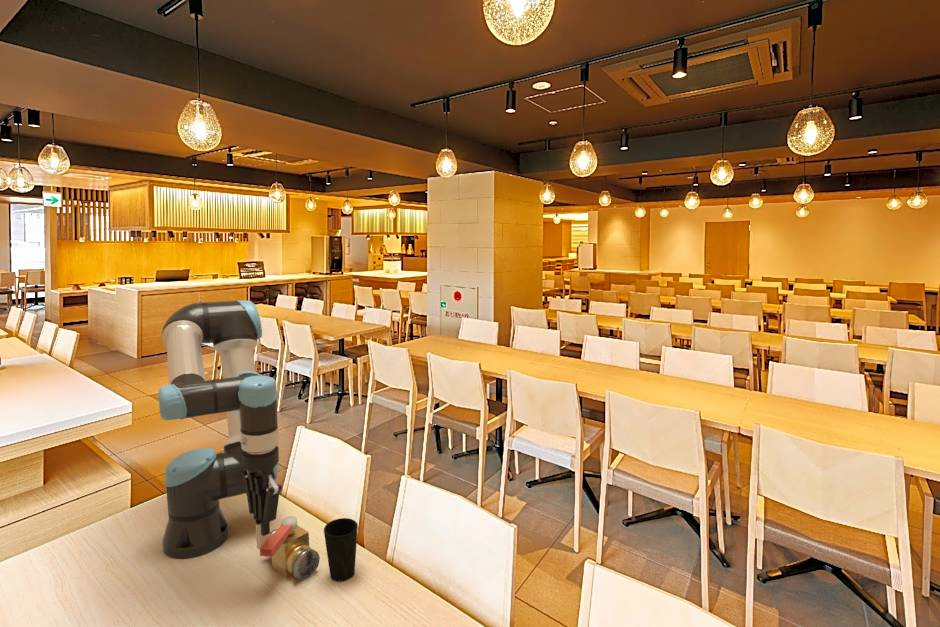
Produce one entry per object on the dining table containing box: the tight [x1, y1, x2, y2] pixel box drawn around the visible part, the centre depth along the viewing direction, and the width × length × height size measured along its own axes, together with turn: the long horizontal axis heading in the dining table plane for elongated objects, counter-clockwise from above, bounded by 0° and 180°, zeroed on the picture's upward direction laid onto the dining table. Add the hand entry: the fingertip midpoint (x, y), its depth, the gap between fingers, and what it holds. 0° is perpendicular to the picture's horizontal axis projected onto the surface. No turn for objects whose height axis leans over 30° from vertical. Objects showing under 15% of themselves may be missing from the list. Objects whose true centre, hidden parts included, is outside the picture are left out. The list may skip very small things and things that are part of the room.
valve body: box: [269, 524, 321, 581], centre depth 123 cm, size 14×7×10 cm, turn 51°
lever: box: [259, 515, 298, 558], centre depth 118 cm, size 13×4×2 cm, turn 174°
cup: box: [323, 517, 359, 583], centre depth 120 cm, size 8×8×12 cm
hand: (263, 546), depth 115 cm, fingers closed
